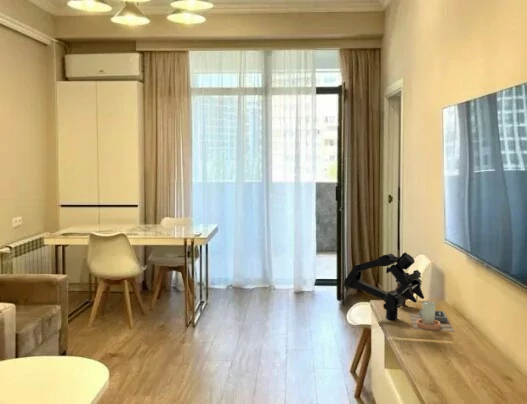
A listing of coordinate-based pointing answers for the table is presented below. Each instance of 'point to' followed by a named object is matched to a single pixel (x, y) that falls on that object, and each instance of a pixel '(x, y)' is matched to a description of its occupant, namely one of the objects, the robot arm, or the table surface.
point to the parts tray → (438, 316)
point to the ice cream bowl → (403, 297)
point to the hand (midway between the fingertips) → (419, 300)
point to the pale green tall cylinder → (428, 313)
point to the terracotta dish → (433, 327)
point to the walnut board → (443, 327)
